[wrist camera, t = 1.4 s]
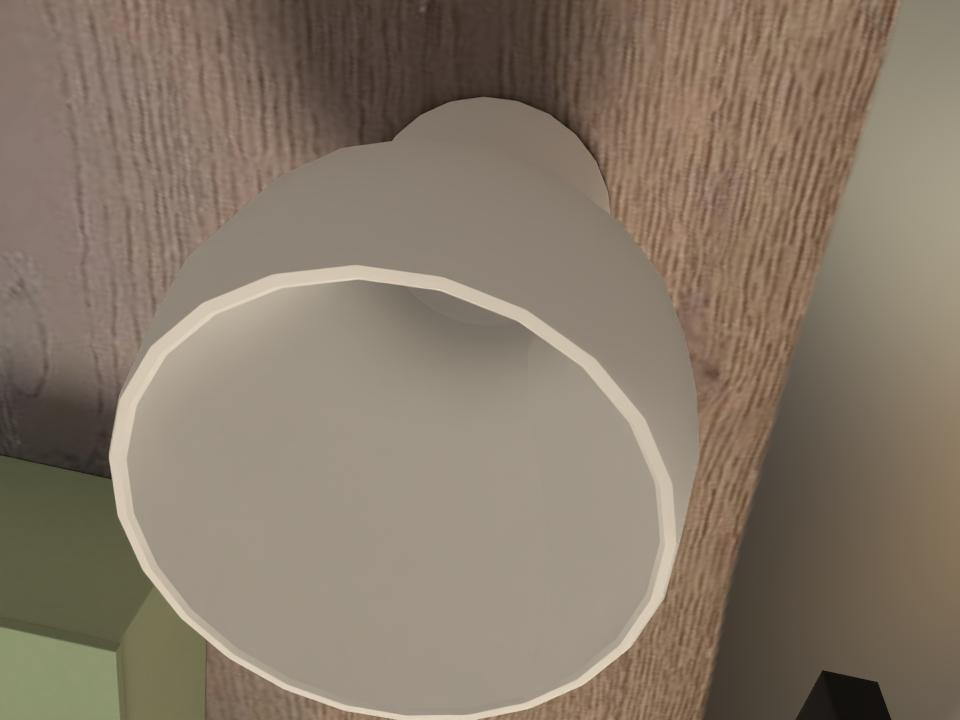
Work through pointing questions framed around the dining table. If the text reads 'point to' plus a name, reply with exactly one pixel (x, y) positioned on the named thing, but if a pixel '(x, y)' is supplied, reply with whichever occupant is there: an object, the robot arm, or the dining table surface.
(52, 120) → the dining table surface
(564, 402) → the cup
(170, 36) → the dining table surface
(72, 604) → the green flat-topped block
